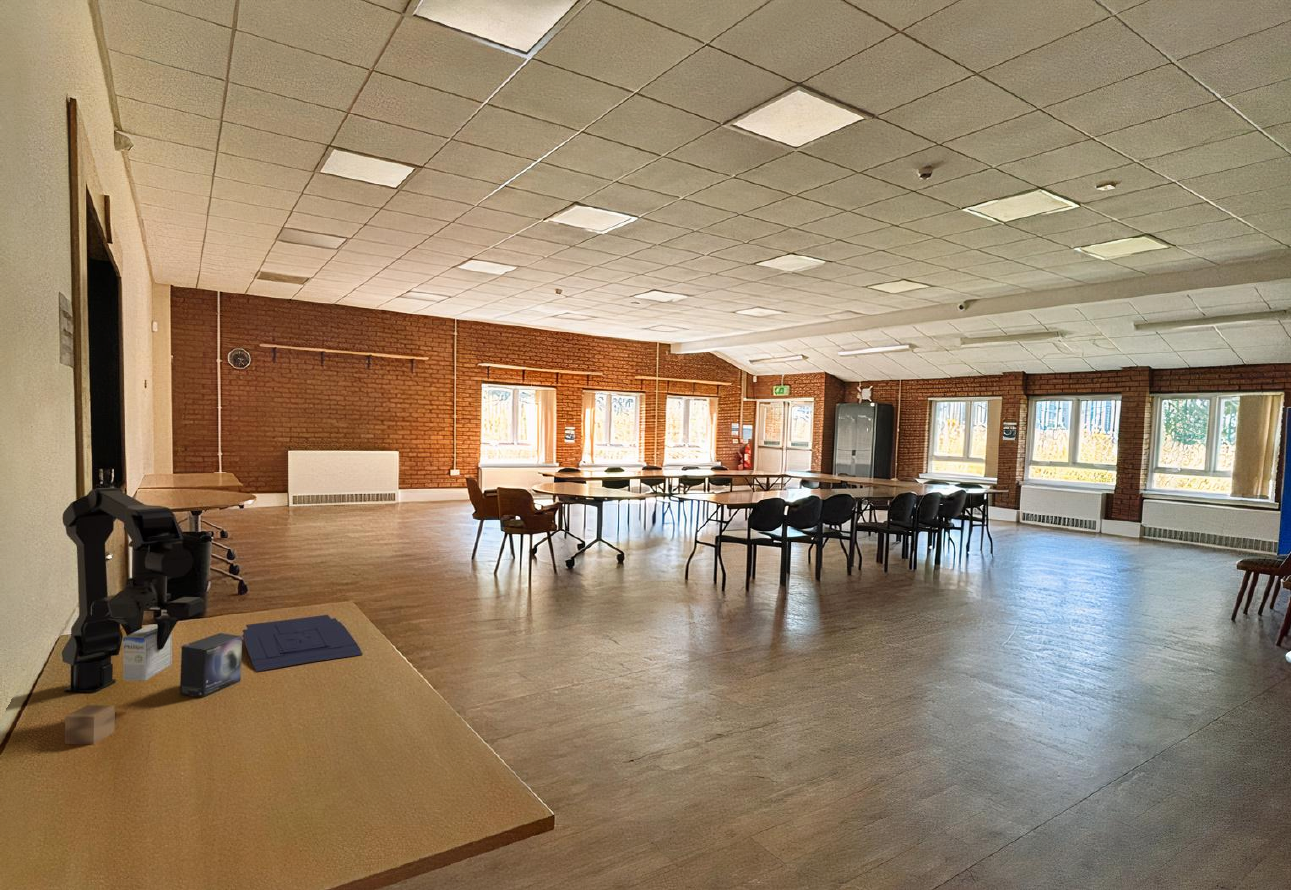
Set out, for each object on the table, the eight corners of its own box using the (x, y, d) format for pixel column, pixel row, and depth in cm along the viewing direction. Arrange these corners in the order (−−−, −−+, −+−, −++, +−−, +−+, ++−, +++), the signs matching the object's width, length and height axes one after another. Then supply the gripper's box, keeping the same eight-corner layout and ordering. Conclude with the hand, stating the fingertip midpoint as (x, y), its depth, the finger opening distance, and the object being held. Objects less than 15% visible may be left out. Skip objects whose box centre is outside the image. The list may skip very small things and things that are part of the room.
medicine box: (150, 665, 142) (149, 624, 141) (172, 665, 142) (172, 624, 141) (122, 681, 134) (121, 637, 133) (146, 681, 134) (145, 637, 133)
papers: (334, 622, 199) (335, 610, 199) (363, 664, 176) (364, 650, 175) (237, 635, 184) (237, 622, 184) (254, 683, 161) (255, 668, 160)
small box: (204, 698, 145) (205, 648, 145) (177, 695, 146) (178, 645, 146) (242, 681, 155) (243, 634, 155) (218, 678, 157) (219, 632, 157)
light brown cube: (64, 744, 123) (65, 716, 123) (86, 732, 128) (87, 705, 128) (93, 744, 123) (94, 716, 123) (114, 732, 128) (114, 705, 128)
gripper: (68, 578, 129) (67, 661, 129) (171, 581, 130) (169, 663, 130) (113, 566, 140) (111, 643, 140) (206, 569, 141) (205, 645, 141)
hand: (148, 649), depth 138 cm, fingers closed on medicine box, 4 cm apart
